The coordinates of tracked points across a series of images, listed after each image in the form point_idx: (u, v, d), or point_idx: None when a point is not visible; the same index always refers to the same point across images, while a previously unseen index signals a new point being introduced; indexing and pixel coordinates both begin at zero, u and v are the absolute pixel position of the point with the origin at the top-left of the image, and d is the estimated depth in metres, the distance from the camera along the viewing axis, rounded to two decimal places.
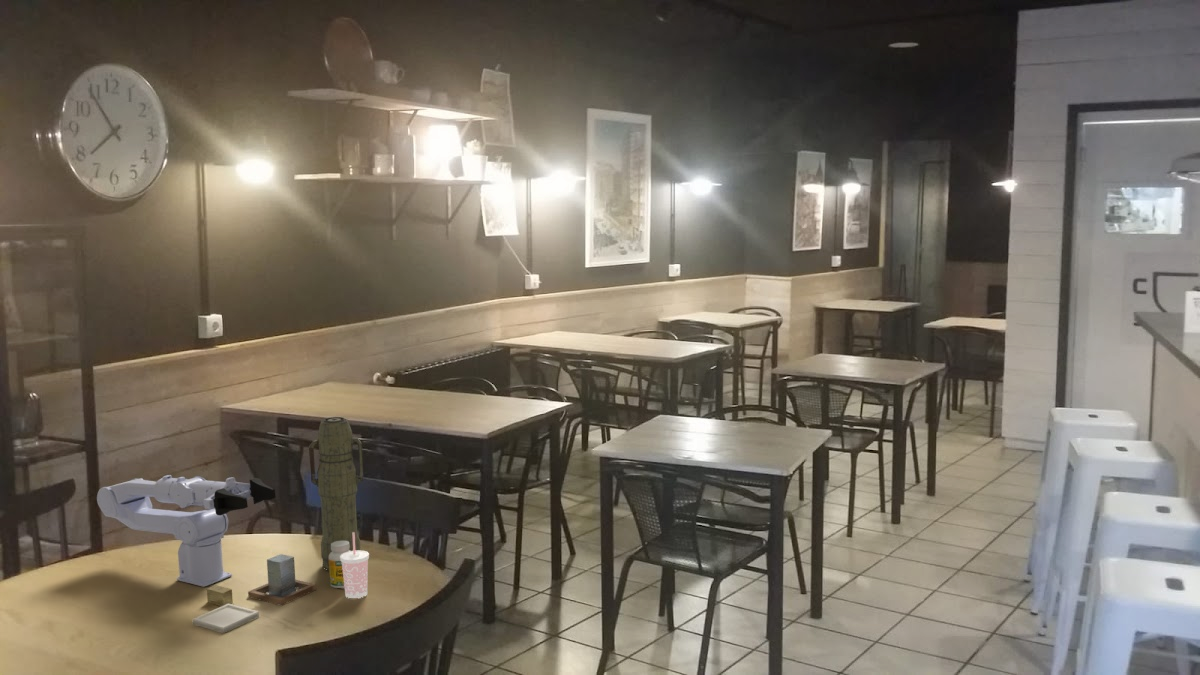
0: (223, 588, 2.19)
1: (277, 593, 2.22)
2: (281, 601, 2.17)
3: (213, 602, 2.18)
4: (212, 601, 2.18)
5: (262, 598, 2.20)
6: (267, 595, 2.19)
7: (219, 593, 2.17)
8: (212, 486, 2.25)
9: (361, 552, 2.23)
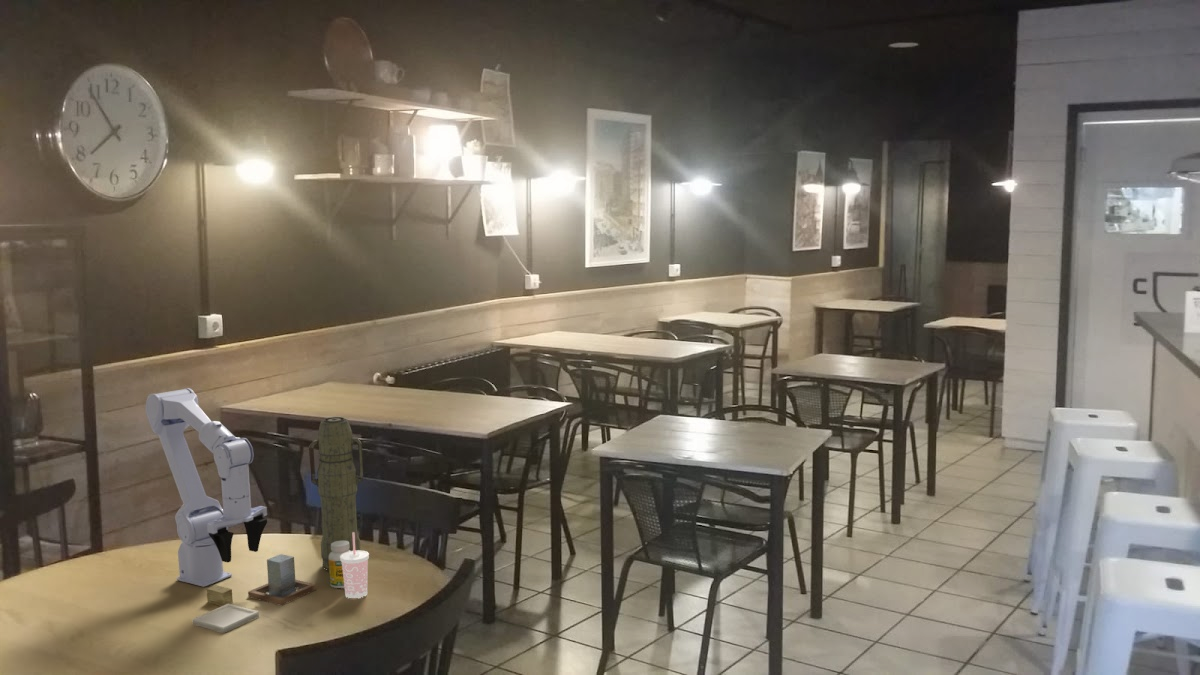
0: (223, 588, 2.19)
1: (277, 593, 2.22)
2: (281, 601, 2.17)
3: (213, 602, 2.18)
4: (212, 601, 2.18)
5: (262, 598, 2.20)
6: (267, 595, 2.19)
7: (219, 593, 2.17)
8: (237, 502, 2.19)
9: (361, 552, 2.23)
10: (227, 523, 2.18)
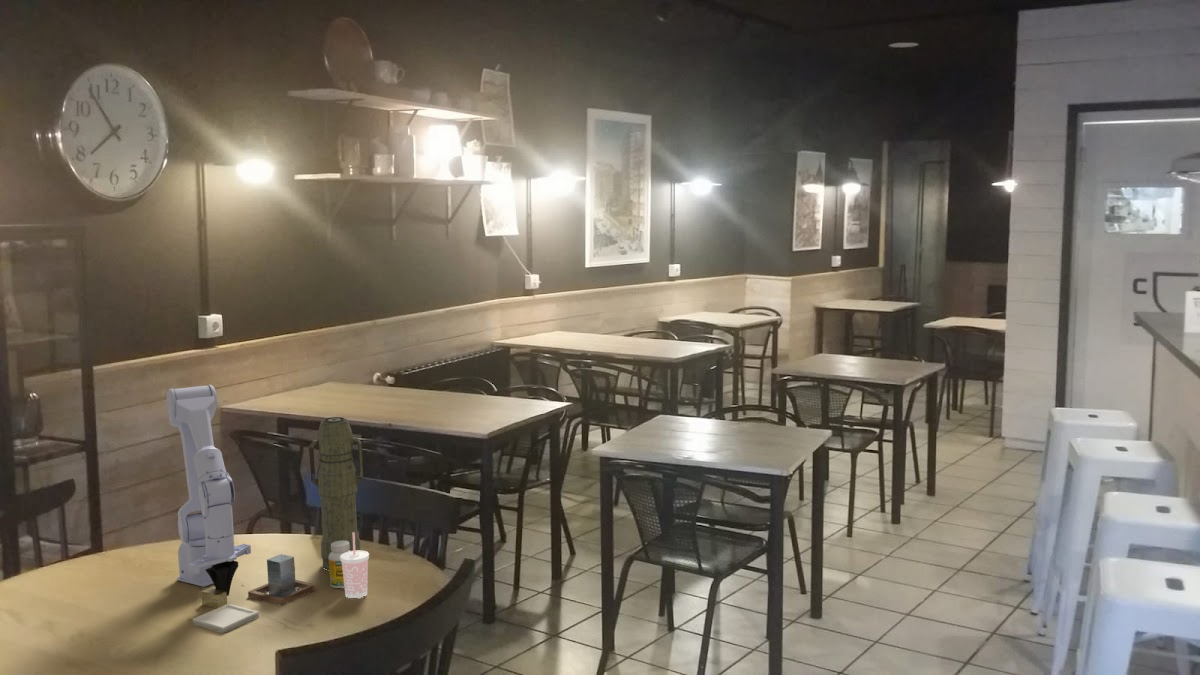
0: (218, 590, 2.18)
1: (277, 593, 2.22)
2: (281, 601, 2.17)
3: (207, 604, 2.17)
4: (206, 603, 2.17)
5: (262, 598, 2.20)
6: (267, 595, 2.19)
7: (213, 595, 2.16)
8: (220, 542, 2.15)
9: (361, 552, 2.23)
10: (210, 563, 2.14)
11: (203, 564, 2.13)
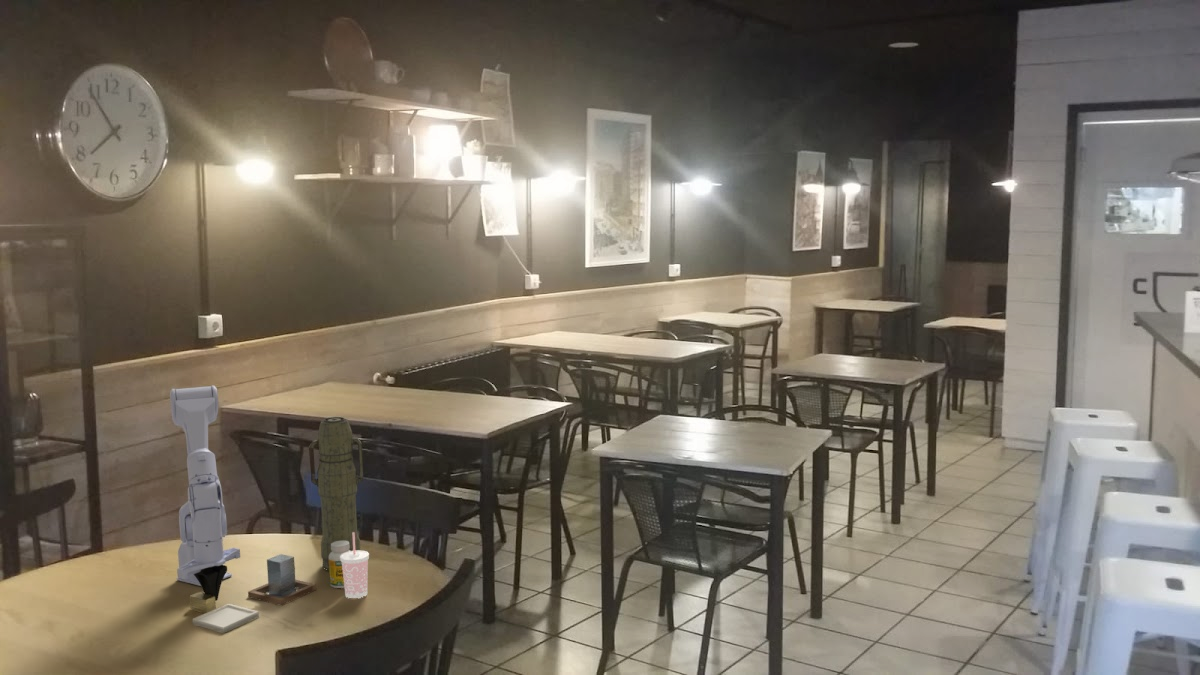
0: (206, 595, 2.15)
1: (277, 593, 2.22)
2: (281, 601, 2.17)
3: (196, 609, 2.15)
4: (195, 608, 2.15)
5: (262, 598, 2.20)
6: (267, 595, 2.19)
7: (202, 600, 2.13)
8: (209, 546, 2.13)
9: (361, 552, 2.23)
10: (198, 568, 2.12)
11: (191, 568, 2.11)
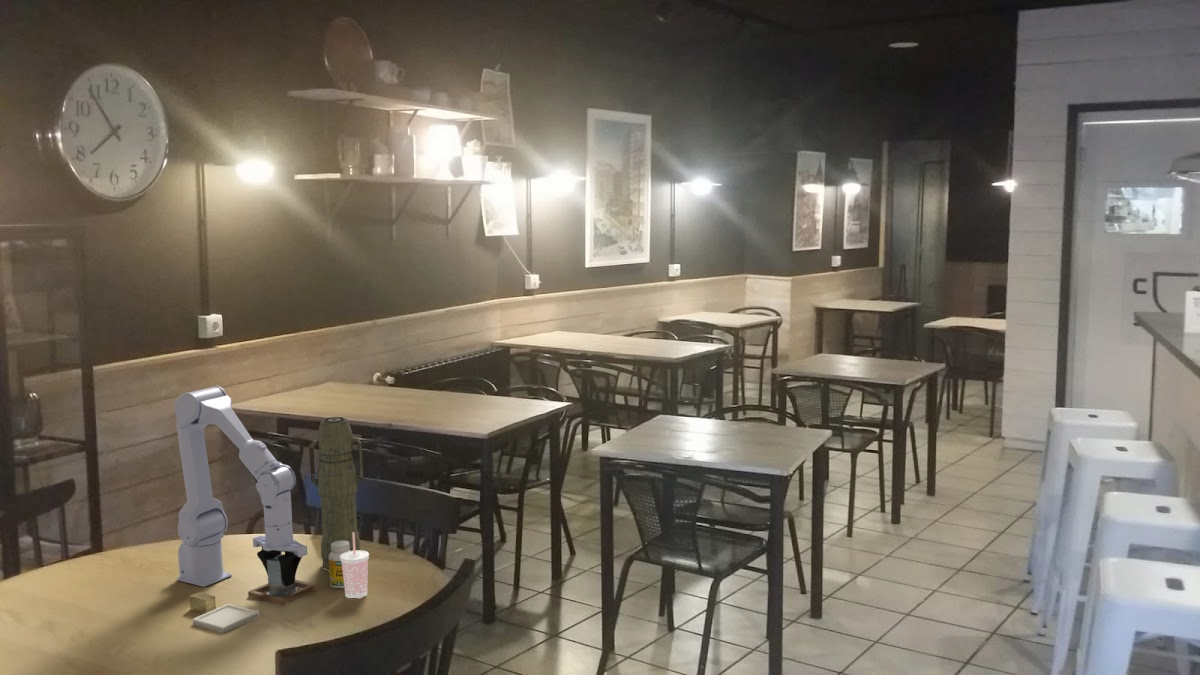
0: (206, 595, 2.15)
1: (277, 593, 2.22)
2: (281, 601, 2.17)
3: (196, 609, 2.15)
4: (195, 608, 2.15)
5: (262, 598, 2.20)
6: (267, 595, 2.19)
7: (202, 600, 2.13)
8: None
9: (361, 552, 2.23)
10: (259, 543, 2.23)
11: (257, 541, 2.24)
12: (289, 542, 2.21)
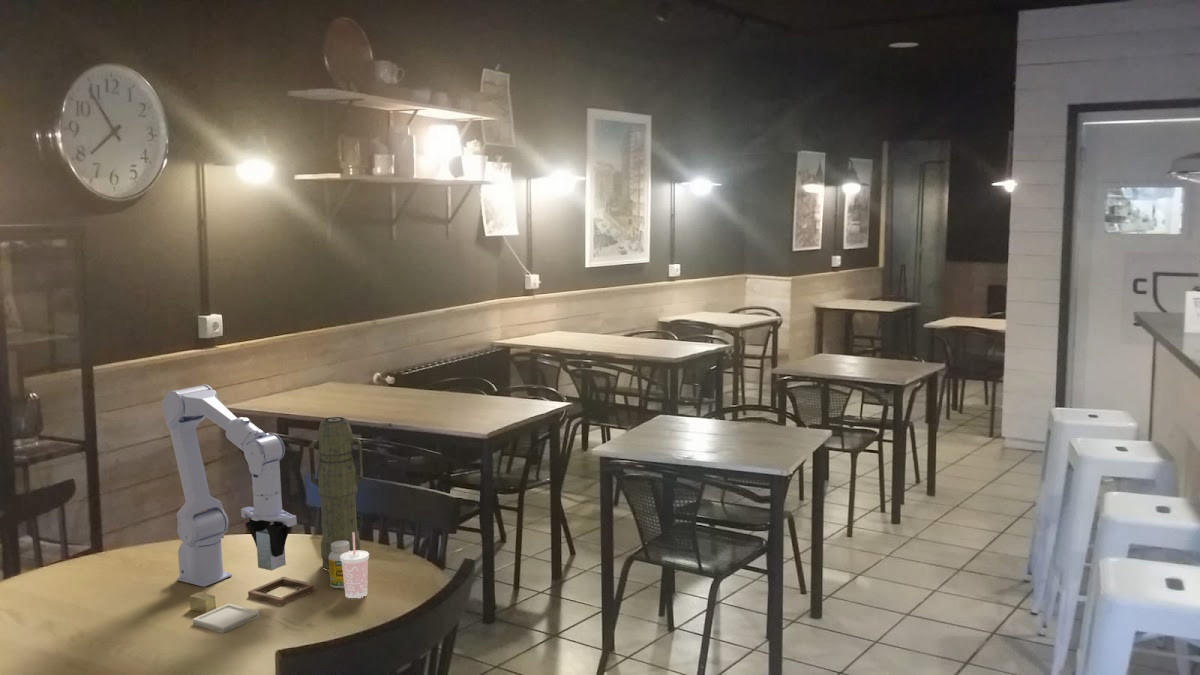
0: (206, 595, 2.15)
1: (266, 565, 2.18)
2: (281, 601, 2.17)
3: (196, 609, 2.15)
4: (195, 608, 2.15)
5: (262, 598, 2.20)
6: (267, 595, 2.19)
7: (202, 600, 2.13)
8: (253, 497, 2.17)
9: (361, 552, 2.23)
10: (248, 513, 2.19)
11: (245, 511, 2.20)
12: (278, 512, 2.17)
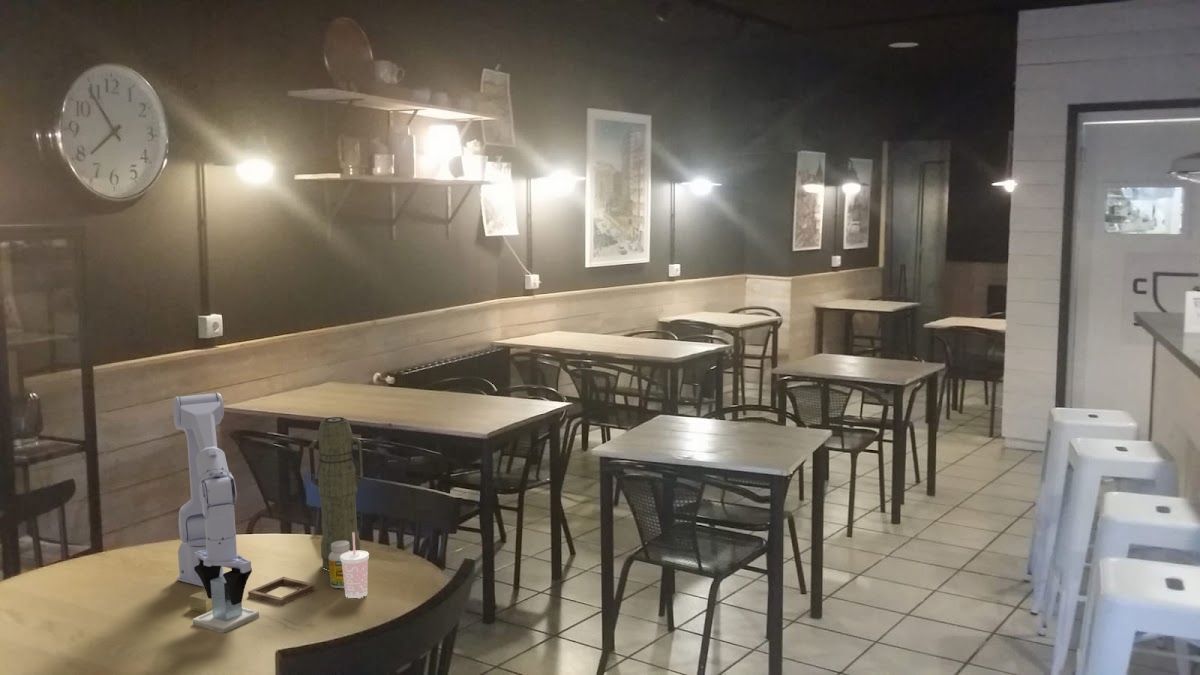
0: (206, 595, 2.15)
1: (221, 616, 2.08)
2: (281, 601, 2.17)
3: (196, 609, 2.15)
4: (195, 608, 2.15)
5: (262, 598, 2.20)
6: (267, 595, 2.19)
7: (202, 600, 2.13)
8: (205, 541, 2.06)
9: (361, 552, 2.23)
10: (201, 557, 2.08)
11: (198, 555, 2.09)
12: (232, 557, 2.06)
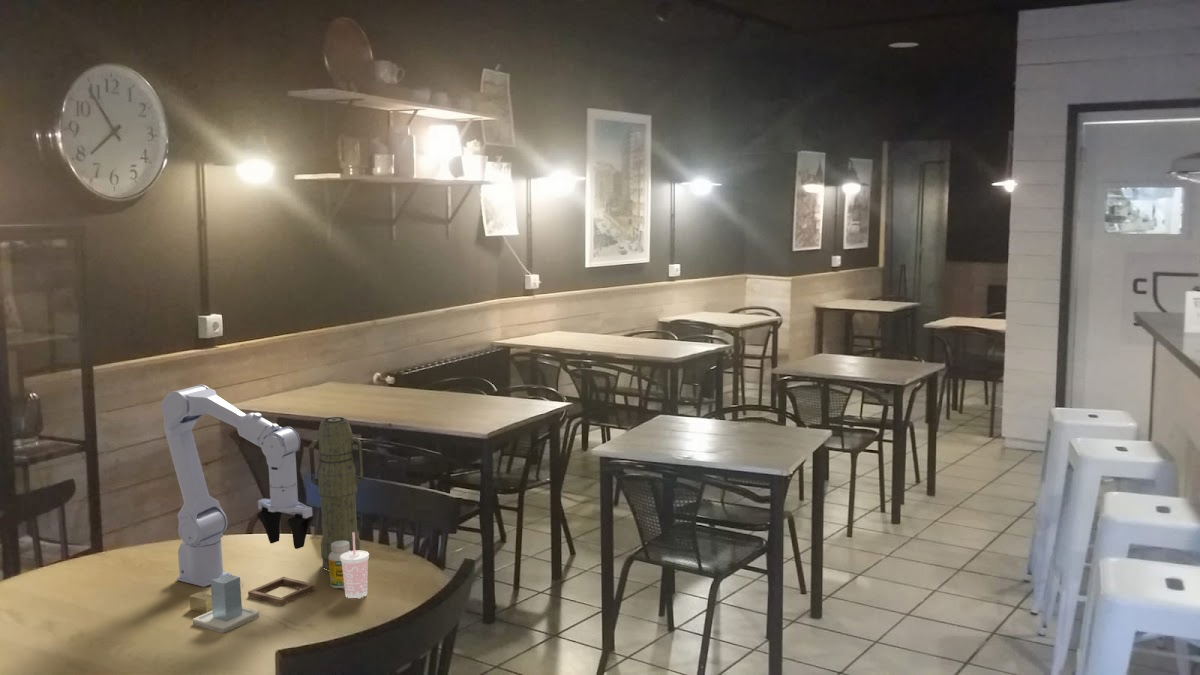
0: (206, 595, 2.15)
1: (221, 616, 2.08)
2: (281, 601, 2.17)
3: (196, 609, 2.15)
4: (195, 608, 2.15)
5: (262, 598, 2.20)
6: (267, 595, 2.19)
7: (202, 600, 2.13)
8: None
9: (361, 552, 2.23)
10: (264, 505, 2.23)
11: (262, 503, 2.25)
12: (294, 504, 2.22)
